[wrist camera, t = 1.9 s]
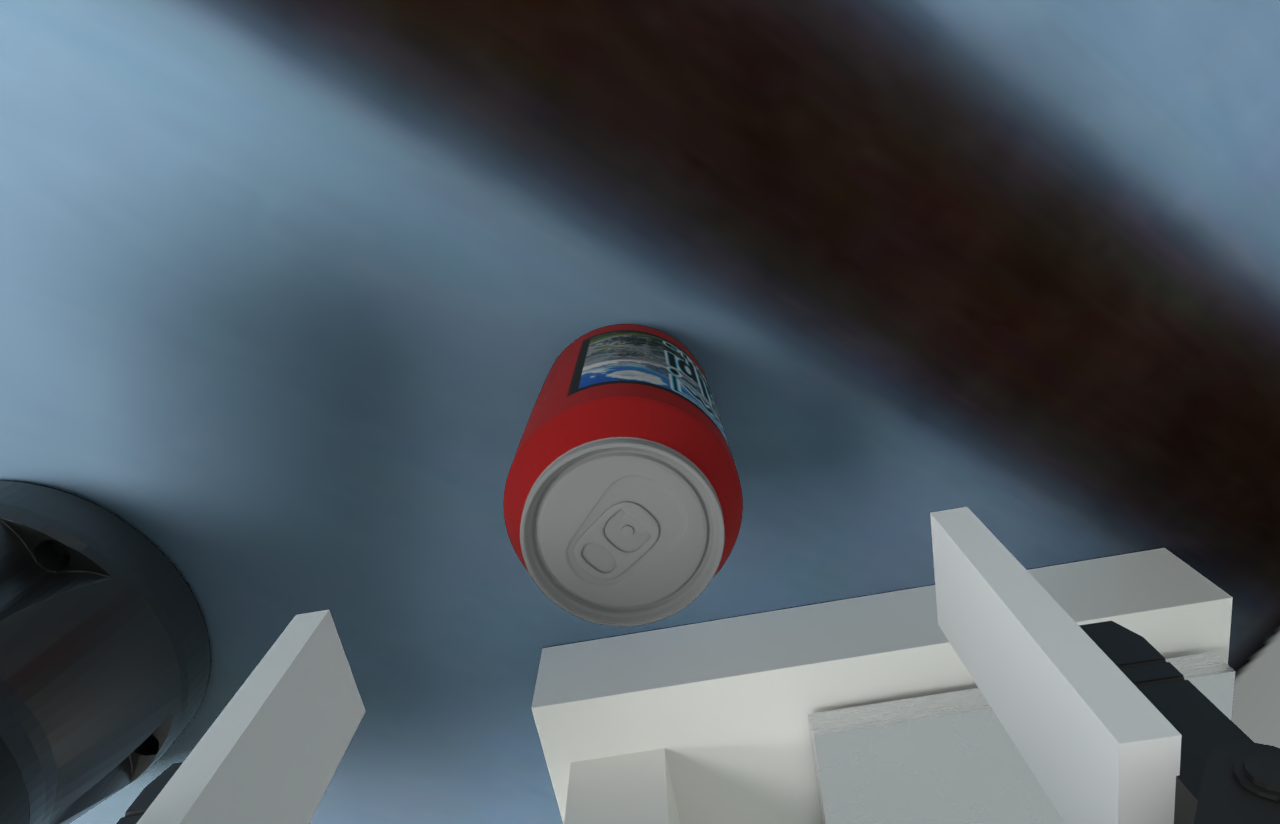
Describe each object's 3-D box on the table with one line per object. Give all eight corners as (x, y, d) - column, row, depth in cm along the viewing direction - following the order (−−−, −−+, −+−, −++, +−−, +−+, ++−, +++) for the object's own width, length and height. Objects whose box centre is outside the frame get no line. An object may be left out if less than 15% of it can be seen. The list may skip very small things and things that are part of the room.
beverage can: (743, 397, 31) (806, 534, 20) (629, 506, 33) (627, 692, 21) (623, 283, 30) (616, 360, 18) (509, 402, 31) (438, 543, 20)
